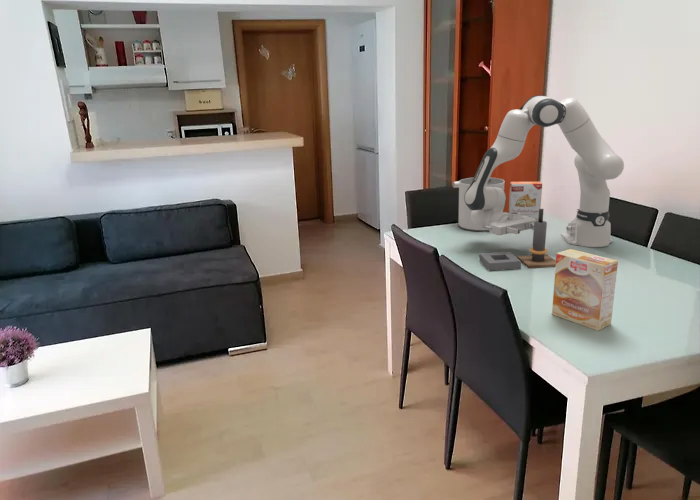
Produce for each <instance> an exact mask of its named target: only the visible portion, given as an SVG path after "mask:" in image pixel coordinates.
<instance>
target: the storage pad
mask: <svg viewBox="0 0 700 500" xmlns="http://www.w3.org/2000/svg"><path fill="white" fill-rule="evenodd" d="M516 257H517V258H518V259H519V260H520V261H521V264H523V265H524V266H525V267H526V266H527V267H526V268H527V269H539V268H554V267H556V259H554V258H553V257H551V256H550V255H548V253H546V254H545V256H544V261H542V262H536V261H533V260H532V254H527V255H516Z"/></svg>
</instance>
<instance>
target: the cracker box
mask: <svg viewBox="0 0 700 500" xmlns="http://www.w3.org/2000/svg"><path fill="white" fill-rule="evenodd" d="M509 184H510V185H509V200H508V201H509V202H508V213H520V214H521V215H525V216H528V217H531V218H534V219H535V220H536V221H538V217H539V209H542V208H541V206H542V194H543V191H542V190H543V183H542V182H541V181H510V183H509Z"/></svg>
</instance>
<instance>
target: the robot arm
mask: <svg viewBox="0 0 700 500" xmlns="http://www.w3.org/2000/svg"><path fill="white" fill-rule="evenodd" d="M535 125H537V126H538V127H541V128H548V127H551V126H554V125H558V126H559V128H560V130H561V132H562V134H563V135H564V137H565V139H566V141H567V142H568V144H569V146H570V147H571V148H572V150H574V152H576V155H575V157H574V161H573V162H574V167H575V169H576V171H577V175H578V179H579V181H578V182H579V188H580V189H579V190H580V194H579V196H580V198H579V208H577V209H576V216H575V218H574V219H572V220H570V221H569V222H568V224H567V225H566V227H565V230H566V231H563V232H561V233H560V236H561V237H562V238H563V239H564V240H565V241H566V242H567V244H568V245H572V246H573V245H574V246H575V245H576V246H582V247H589V248H602V247H608V246H609V245H610V243H613V242H614V241H613V238H611V233H612V232H611V229H612V227H611V226H612V225H611V222H610V221H609V219H610V210H609V206H610V198H611V191H610V189H609V186H608V184H607V180H615V179H616V178H618V177H620V175H622V173H623V172H624V168H625V164H624V160H623V159H622V157H620V156H619V155H618V154H617V153H616V152H615V151H614V150H613V149H612V147H611V146H610V145H609V144H608V142H607V141H606V140H605V138H604V137H602V135H601V134H600V133H599V131H598V129H597V128H596V126H595V124H594V123H593V120H592V119H591V117H590V116H589V114H588V112H587V110H586V109H585V107H584V106H583V105H582V103H580V101H579V100H578V99H576V98H575V97H566V98H563V99H561V100H560V101H558V100H556V99H553V98H551V97H550V96H546V95H540V94H536V95H533V96H531V97H529V98H528V99H527V100H526V101H525V102H524V103H523V105H522V106H521V107H519V109H516V108H515V109H512V110H511V109H510V110H509V111H508V112H507V113H506V115H505V117H504V118H503V120H502V123H501V124H500V128H499V131H498V132H497V136H496V139H495V141H494V142H493V144H492V145H491V147H490V148H489V149H487V150H486V151H485V153H484V155H483V156H482V158H481V161H480V164H479V166H478V167H477V170H476V173H475V174H474V177H473V178H474V179H473V181H472V183H471V185H470V186H469V188H468V189H467V191H466V193H465V196H464V200H465V203H466V205H467V207H468V208H469V209H470V210H473V211H472V213H471V219H472V221H473V222H474V223H475V224H476V225H477V226H479V227H482V228H484V229H488V230H489V231H488V232H490V233H492V234H494V235H497V236H503V235H510V234H515V235H519V234H520V233H521V232H524V231H526V230H532V231H534V221H536V220H535V219H534V218H531V217H528V216H525V215H521V214H520V213H509V212H507V211H504V210H505V207H506V204H507V194H506V192H505V189H504V190H503V189H502V188H499V187H486V185H487V183H488V180H489V178H491V176H492V174H493V171H494V170H495V169H496V168H497V167H498V166H500V165H502V164H503V163H507V162H509V161H510V162H511V161H512V160H515V159H516V158H517V157H519V156H520V154H521V153H522V151H523V149H524V147H525V144H526V139H527V137H528V134H529V131H531V129H532V128H533V127H534V126H535Z"/></svg>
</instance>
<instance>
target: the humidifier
mask: <svg viewBox="0 0 700 500" xmlns="http://www.w3.org/2000/svg"><path fill="white" fill-rule="evenodd" d="M473 179H474V177H468V178H462V179H460V180H458V181H453V182H452V187H453V189H455V188H456V189H457V188H458V227H459V228H460V227H461V228H460V229H462V230H465V231H469V230H470V231H471V232H479V231H485V232H490V231H489V230H488V229H484V228H482V227H479V226H477V225H476V224H475V223H474V222H473V221H472V219H471V213H472V211H473V210H470V209H469V208H468V207H467V205H466V203H465V200H464V196H465V193H466V191H467V189H468V188H469V186H470V185H471V183H472V181H473ZM505 183H506V182H505V180H504V179H503V178H498V177H497V178H496V177H490V178H489V180H488V183H487V185H486V187H499V188H502V189H503V190H504V191H505Z"/></svg>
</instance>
